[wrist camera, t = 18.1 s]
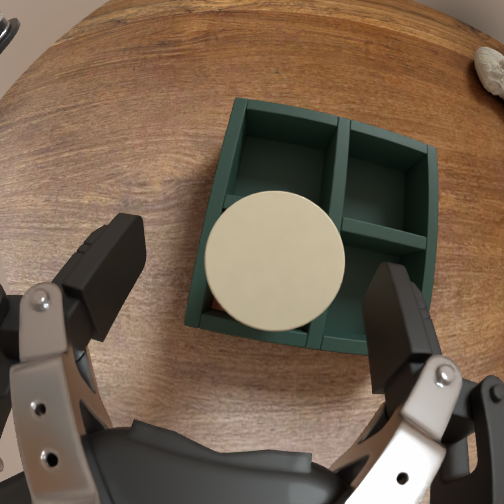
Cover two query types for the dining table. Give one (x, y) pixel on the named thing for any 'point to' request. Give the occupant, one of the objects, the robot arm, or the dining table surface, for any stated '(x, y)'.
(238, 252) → the cylinder
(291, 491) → the robot arm
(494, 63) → the fossil
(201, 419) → the dining table surface
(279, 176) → the grid
